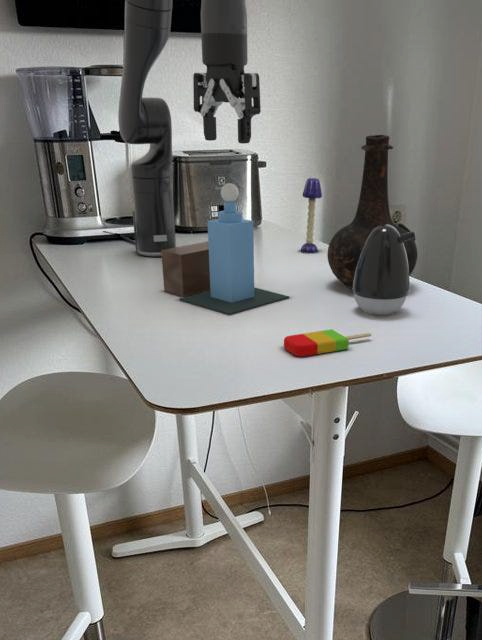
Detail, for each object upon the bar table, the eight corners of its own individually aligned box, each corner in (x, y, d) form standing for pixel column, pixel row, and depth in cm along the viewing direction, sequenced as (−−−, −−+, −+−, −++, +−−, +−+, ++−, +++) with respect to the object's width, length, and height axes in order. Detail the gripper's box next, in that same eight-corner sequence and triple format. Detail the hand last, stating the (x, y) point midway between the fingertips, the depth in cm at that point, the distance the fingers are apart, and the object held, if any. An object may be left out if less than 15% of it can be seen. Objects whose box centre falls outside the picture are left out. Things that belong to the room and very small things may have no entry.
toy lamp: (320, 249, 174) (323, 177, 166) (319, 253, 170) (322, 180, 162) (301, 249, 175) (302, 177, 166) (299, 253, 171) (301, 179, 162)
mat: (179, 300, 134) (179, 298, 134) (239, 285, 144) (239, 283, 144) (229, 315, 125) (229, 313, 125) (289, 297, 136) (289, 296, 135)
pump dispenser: (401, 322, 122) (410, 231, 115) (344, 315, 125) (349, 227, 118) (413, 306, 131) (421, 221, 123) (359, 301, 134) (364, 217, 126)
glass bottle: (425, 296, 137) (443, 138, 123) (337, 299, 134) (345, 138, 121) (398, 274, 152) (410, 132, 138) (318, 277, 150) (323, 132, 136)
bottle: (249, 308, 137) (286, 225, 123) (226, 314, 133) (262, 230, 119) (207, 263, 141) (239, 178, 127) (184, 268, 137) (214, 180, 123)
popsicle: (280, 347, 110) (281, 336, 109) (361, 334, 116) (362, 323, 115) (296, 358, 106) (297, 346, 105) (379, 344, 112) (380, 333, 111)
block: (164, 291, 139) (160, 250, 135) (208, 280, 147) (207, 241, 143) (183, 296, 136) (180, 254, 132) (228, 285, 143) (227, 245, 139)
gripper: (271, 31, 112) (271, 143, 120) (212, 34, 120) (215, 138, 128) (237, 29, 107) (239, 145, 115) (178, 32, 116) (184, 140, 124)
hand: (227, 141), depth 122 cm, fingers open, 8 cm apart
